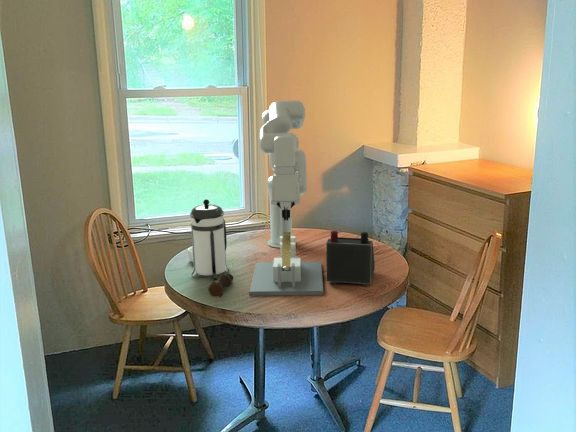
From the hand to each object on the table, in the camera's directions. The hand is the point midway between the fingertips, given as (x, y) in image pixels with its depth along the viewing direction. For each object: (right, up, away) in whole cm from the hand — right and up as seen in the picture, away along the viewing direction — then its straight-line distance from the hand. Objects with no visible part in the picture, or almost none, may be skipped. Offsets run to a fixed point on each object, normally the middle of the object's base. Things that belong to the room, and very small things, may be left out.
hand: (286, 219), depth 215 cm
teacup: (-37, -17, +30) cm, 51 cm away
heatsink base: (0, -22, +6) cm, 23 cm away
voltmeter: (+25, -22, +6) cm, 34 cm away
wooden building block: (0, -17, 0) cm, 17 cm away
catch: (+1, -18, +15) cm, 24 cm away
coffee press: (-29, -21, +14) cm, 39 cm away
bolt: (-23, -26, -2) cm, 34 cm away
